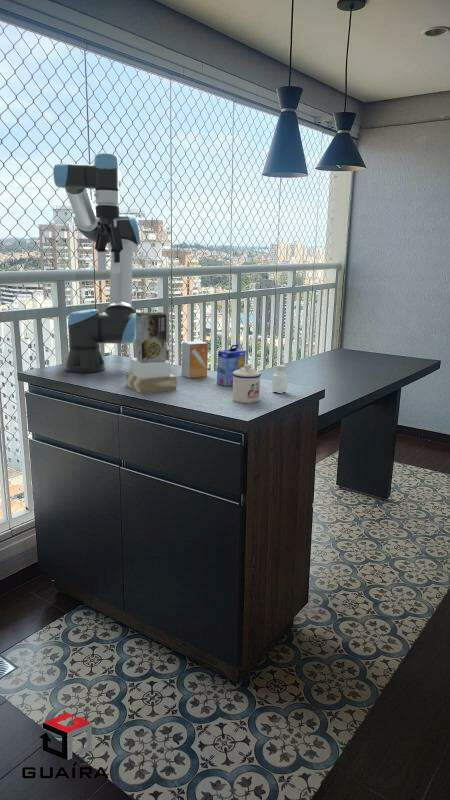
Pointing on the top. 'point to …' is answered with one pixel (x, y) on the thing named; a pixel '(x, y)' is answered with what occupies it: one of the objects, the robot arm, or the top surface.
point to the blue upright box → (229, 364)
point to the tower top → (150, 368)
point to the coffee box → (151, 337)
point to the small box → (194, 359)
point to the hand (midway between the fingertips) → (109, 272)
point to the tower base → (151, 383)
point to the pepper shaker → (279, 380)
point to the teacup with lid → (246, 385)
